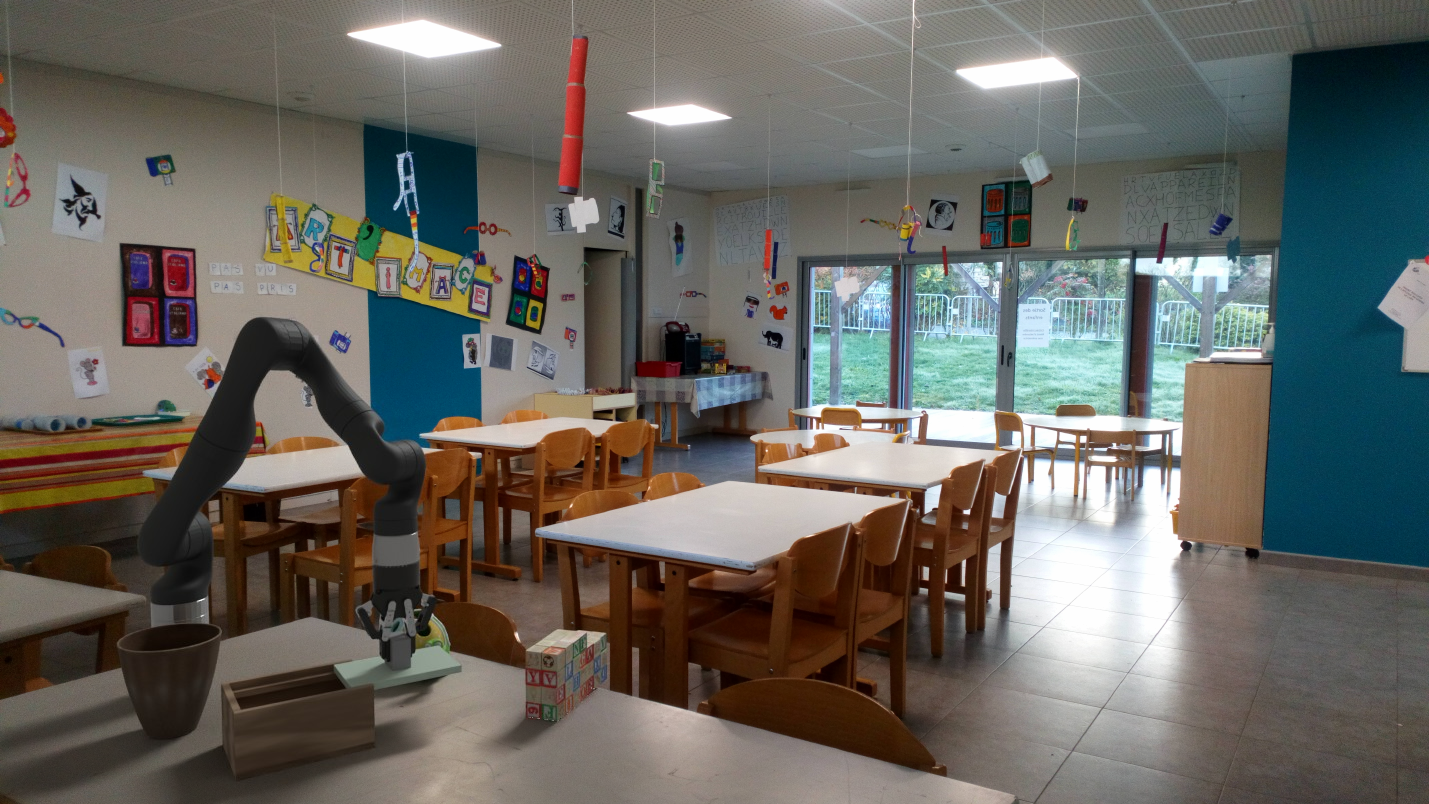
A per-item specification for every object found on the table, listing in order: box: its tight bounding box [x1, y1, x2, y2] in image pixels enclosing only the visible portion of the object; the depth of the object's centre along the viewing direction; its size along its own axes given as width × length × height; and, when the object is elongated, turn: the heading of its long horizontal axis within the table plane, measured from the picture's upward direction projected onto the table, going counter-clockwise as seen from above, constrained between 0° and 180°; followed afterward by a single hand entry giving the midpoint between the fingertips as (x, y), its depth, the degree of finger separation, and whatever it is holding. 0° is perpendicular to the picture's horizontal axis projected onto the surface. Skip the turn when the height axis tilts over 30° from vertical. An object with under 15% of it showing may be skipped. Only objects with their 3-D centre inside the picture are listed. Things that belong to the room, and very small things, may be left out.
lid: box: [334, 631, 463, 691], centre depth 155 cm, size 12×18×6 cm, turn 125°
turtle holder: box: [390, 608, 451, 656], centre depth 177 cm, size 12×18×12 cm
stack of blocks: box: [524, 628, 608, 722], centre depth 168 cm, size 21×6×12 cm, turn 163°
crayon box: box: [220, 658, 376, 781], centre depth 147 cm, size 15×20×10 cm
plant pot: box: [116, 623, 222, 740], centre depth 152 cm, size 15×15×16 cm
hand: (397, 658), depth 155 cm, fingers closed on lid, 3 cm apart
